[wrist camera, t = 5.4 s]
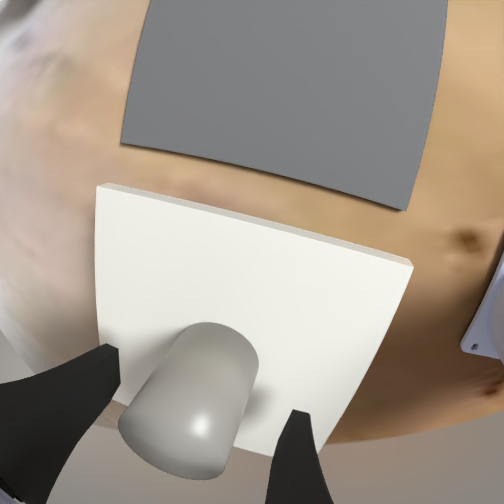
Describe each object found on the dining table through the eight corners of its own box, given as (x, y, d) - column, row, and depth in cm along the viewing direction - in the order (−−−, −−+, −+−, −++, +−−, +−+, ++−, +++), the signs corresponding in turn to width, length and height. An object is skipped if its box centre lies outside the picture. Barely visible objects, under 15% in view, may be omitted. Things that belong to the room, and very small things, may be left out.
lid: (408, 259, 11) (463, 357, 5) (311, 453, 15) (297, 543, 10) (108, 182, 12) (-3, 219, 7) (113, 387, 17) (60, 454, 11)
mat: (447, -42, 9) (449, -45, 8) (404, 209, 14) (405, 211, 14) (184, -80, 11) (182, -83, 10) (124, 142, 16) (120, 142, 16)
